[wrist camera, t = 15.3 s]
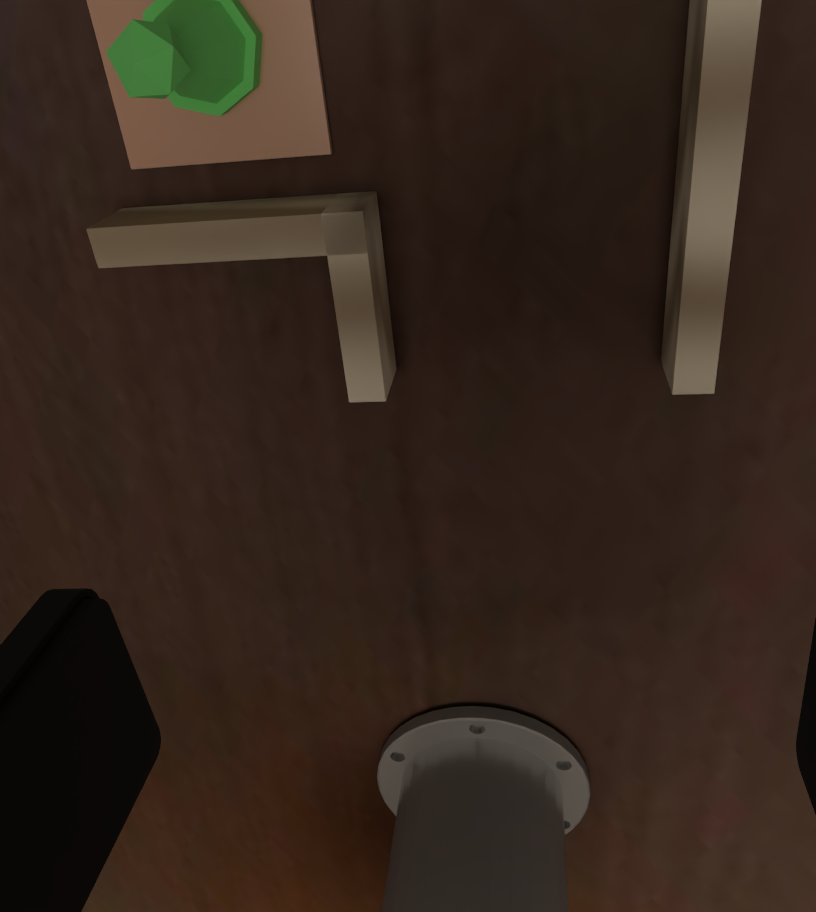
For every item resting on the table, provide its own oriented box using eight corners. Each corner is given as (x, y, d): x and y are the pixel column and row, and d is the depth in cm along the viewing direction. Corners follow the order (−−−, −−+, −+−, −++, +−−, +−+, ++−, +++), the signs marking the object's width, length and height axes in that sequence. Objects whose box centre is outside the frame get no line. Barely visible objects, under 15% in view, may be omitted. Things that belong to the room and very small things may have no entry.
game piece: (173, 125, 29) (99, 157, 24) (128, -5, 27) (37, 0, 22) (280, 100, 28) (226, 128, 23) (242, -37, 26) (174, -39, 21)
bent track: (699, 359, 32) (714, 393, 29) (168, 376, 35) (140, 407, 33) (771, -308, 21) (803, -346, 19) (11, -187, 25) (-46, -205, 23)
